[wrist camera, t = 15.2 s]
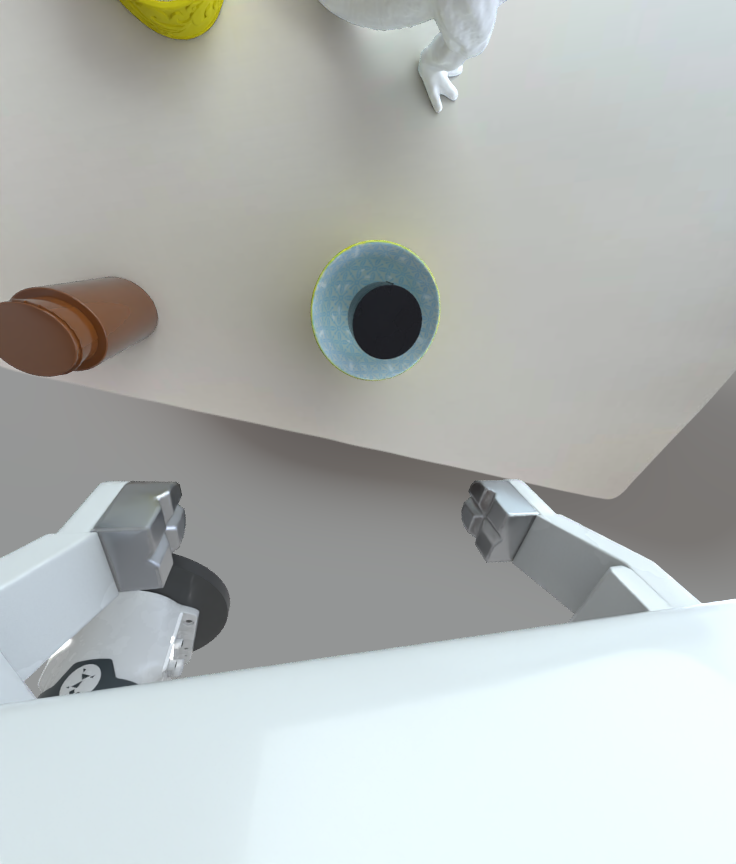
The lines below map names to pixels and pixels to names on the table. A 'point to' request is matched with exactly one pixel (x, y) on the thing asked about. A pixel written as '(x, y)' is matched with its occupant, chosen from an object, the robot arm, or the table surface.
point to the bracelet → (176, 16)
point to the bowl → (346, 281)
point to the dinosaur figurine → (456, 42)
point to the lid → (384, 320)
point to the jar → (73, 324)
